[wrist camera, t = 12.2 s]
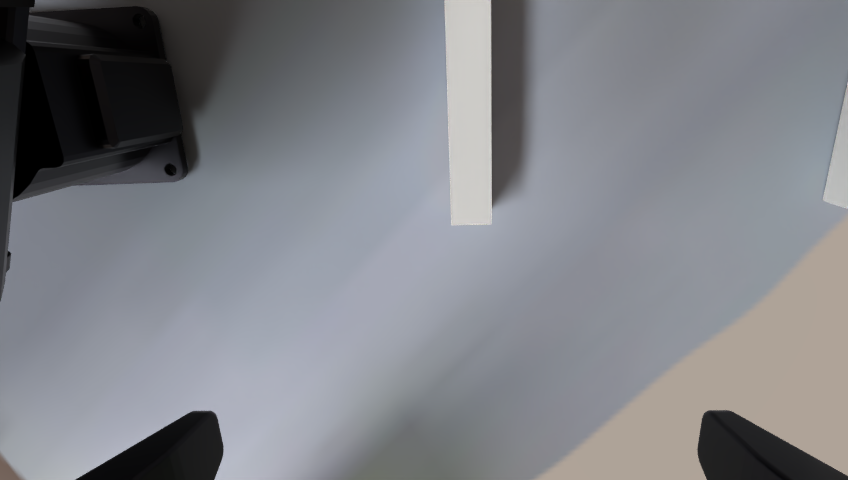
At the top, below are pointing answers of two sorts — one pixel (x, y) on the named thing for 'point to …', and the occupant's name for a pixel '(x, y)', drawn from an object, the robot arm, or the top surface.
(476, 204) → the lane
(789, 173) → the top surface
